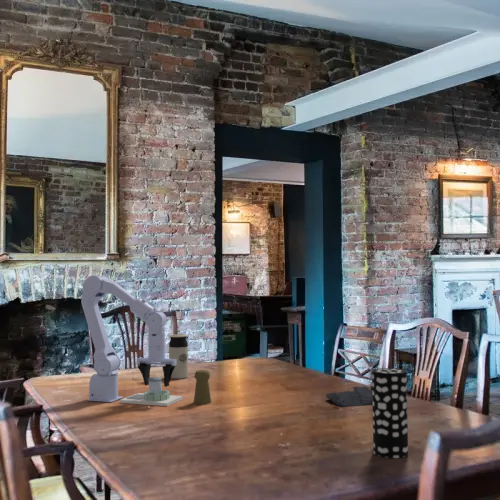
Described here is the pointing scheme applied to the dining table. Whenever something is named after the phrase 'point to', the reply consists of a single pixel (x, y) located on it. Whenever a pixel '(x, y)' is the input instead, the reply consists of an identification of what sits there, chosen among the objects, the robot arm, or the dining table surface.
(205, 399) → the cork
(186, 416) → the dining table surface
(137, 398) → the white base plate
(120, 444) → the dining table surface
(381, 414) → the white-spotted black cylinder
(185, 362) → the travel mug
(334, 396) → the dark slate chunk
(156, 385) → the tube
